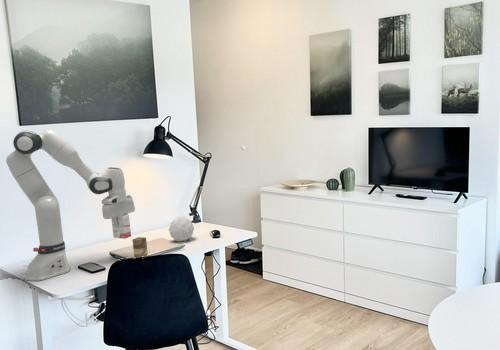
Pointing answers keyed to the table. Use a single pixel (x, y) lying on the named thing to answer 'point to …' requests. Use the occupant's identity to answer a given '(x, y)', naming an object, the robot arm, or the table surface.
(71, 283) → the table surface
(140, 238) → the walnut cube
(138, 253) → the oak block
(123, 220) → the ink cartridge box
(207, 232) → the table surface
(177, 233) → the white faceted ball
